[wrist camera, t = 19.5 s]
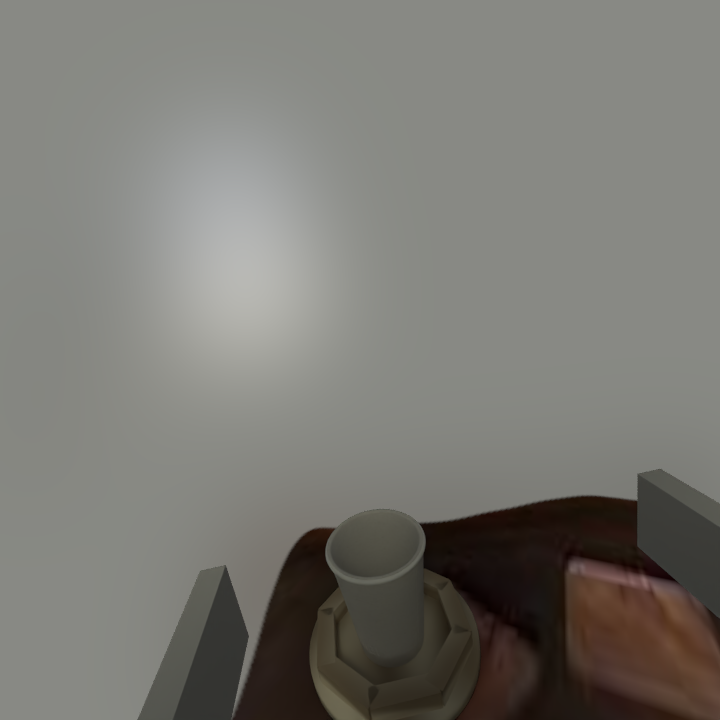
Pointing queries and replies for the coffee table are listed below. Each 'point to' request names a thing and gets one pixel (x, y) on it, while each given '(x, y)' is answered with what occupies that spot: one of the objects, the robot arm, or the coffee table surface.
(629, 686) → the coffee table surface
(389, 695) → the rimmed coaster
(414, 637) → the dixie cup
